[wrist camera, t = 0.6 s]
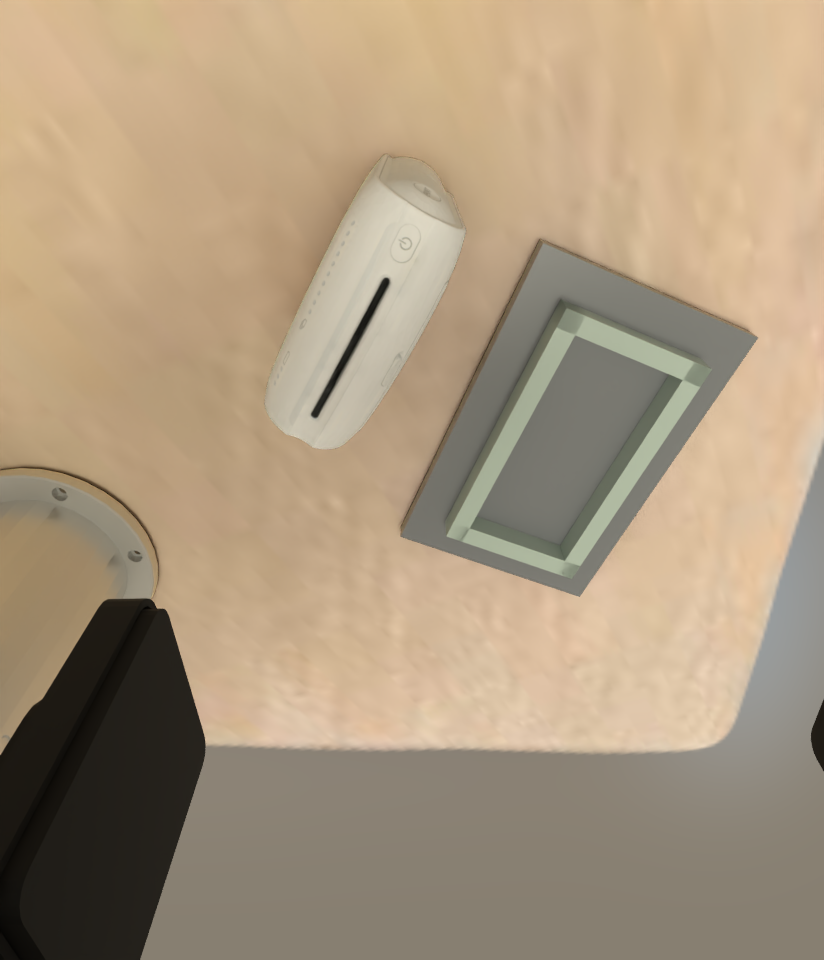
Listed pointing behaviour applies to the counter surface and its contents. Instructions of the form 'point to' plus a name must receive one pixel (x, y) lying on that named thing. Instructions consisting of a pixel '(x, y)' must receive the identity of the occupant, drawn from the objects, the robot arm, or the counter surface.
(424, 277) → the photo printer
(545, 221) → the counter surface
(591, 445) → the dock
